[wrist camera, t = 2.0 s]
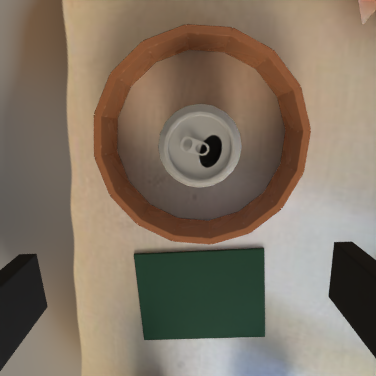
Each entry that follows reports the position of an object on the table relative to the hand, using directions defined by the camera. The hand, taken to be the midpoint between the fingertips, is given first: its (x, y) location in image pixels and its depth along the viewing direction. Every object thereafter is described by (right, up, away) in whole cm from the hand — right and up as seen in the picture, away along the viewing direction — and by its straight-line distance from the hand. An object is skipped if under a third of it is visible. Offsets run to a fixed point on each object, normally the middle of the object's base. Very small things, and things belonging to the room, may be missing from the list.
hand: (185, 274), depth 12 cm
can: (+2, +10, +23) cm, 25 cm away
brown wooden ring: (+2, +10, +22) cm, 25 cm away
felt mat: (+2, -12, +27) cm, 30 cm away
